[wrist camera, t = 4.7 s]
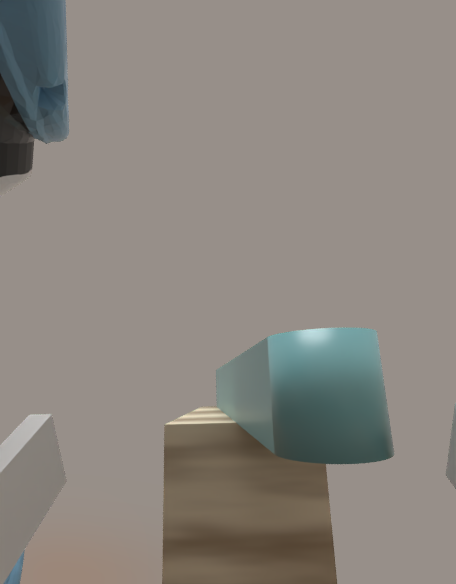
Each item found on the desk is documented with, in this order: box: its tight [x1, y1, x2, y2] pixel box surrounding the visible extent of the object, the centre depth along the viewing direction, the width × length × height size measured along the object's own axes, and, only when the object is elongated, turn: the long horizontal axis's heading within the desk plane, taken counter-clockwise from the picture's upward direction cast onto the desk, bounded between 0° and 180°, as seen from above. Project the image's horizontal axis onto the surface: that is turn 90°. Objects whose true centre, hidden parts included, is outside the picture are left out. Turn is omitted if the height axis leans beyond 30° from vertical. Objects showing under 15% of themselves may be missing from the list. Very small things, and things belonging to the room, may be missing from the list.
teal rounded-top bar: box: [216, 328, 394, 464], centre depth 26 cm, size 33×4×4 cm, turn 6°
